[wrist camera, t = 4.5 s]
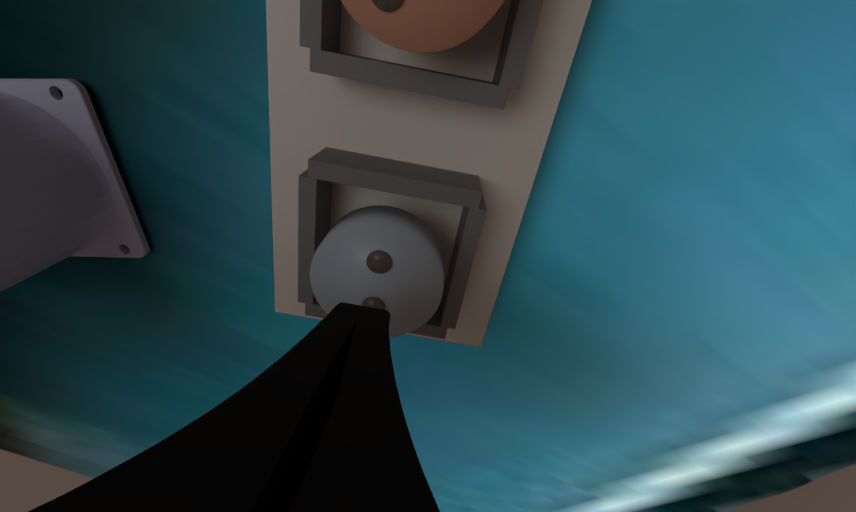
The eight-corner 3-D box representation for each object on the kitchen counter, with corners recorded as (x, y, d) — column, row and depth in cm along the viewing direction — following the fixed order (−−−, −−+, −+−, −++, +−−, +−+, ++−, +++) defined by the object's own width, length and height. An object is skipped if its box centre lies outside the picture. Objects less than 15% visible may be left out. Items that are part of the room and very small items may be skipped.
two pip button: (432, 320, 14) (430, 348, 13) (321, 300, 14) (307, 327, 13) (455, 218, 12) (456, 238, 11) (326, 194, 12) (310, 211, 11)
